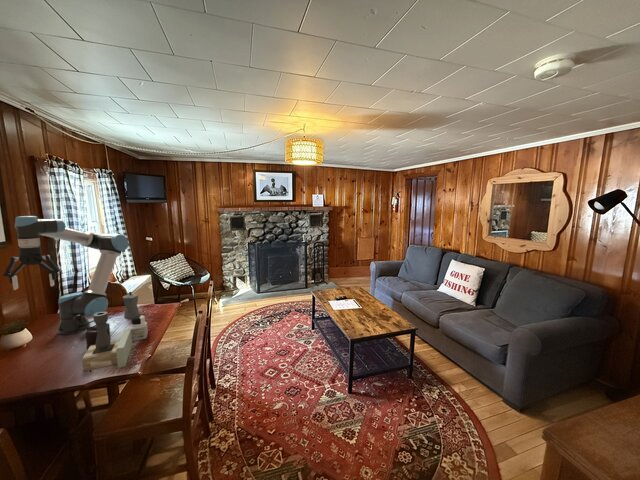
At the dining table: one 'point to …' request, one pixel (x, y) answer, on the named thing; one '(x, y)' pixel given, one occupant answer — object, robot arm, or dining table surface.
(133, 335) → the container
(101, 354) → the socket block
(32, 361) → the dining table surface
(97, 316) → the candle holder
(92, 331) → the coffee grinder
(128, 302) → the coffeepot
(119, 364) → the backstop wall
